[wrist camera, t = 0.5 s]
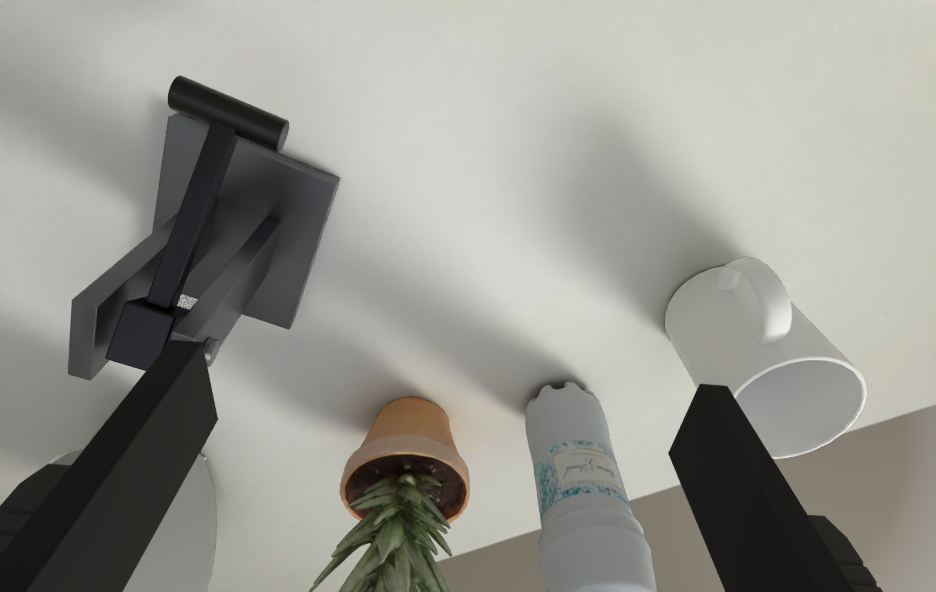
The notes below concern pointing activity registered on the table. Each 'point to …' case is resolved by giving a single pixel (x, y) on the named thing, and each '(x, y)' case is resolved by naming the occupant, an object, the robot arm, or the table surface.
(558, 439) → the bottle
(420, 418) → the potted plant
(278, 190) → the lever stand
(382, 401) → the table surface
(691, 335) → the mug
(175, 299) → the lever
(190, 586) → the alarm clock
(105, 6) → the table surface
